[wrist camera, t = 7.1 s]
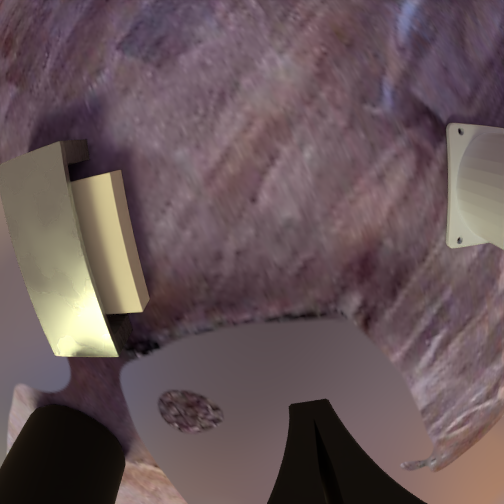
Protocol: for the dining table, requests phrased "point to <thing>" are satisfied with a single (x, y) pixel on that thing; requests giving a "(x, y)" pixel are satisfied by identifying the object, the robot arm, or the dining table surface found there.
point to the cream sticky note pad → (110, 242)
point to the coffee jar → (62, 461)
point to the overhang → (57, 252)
